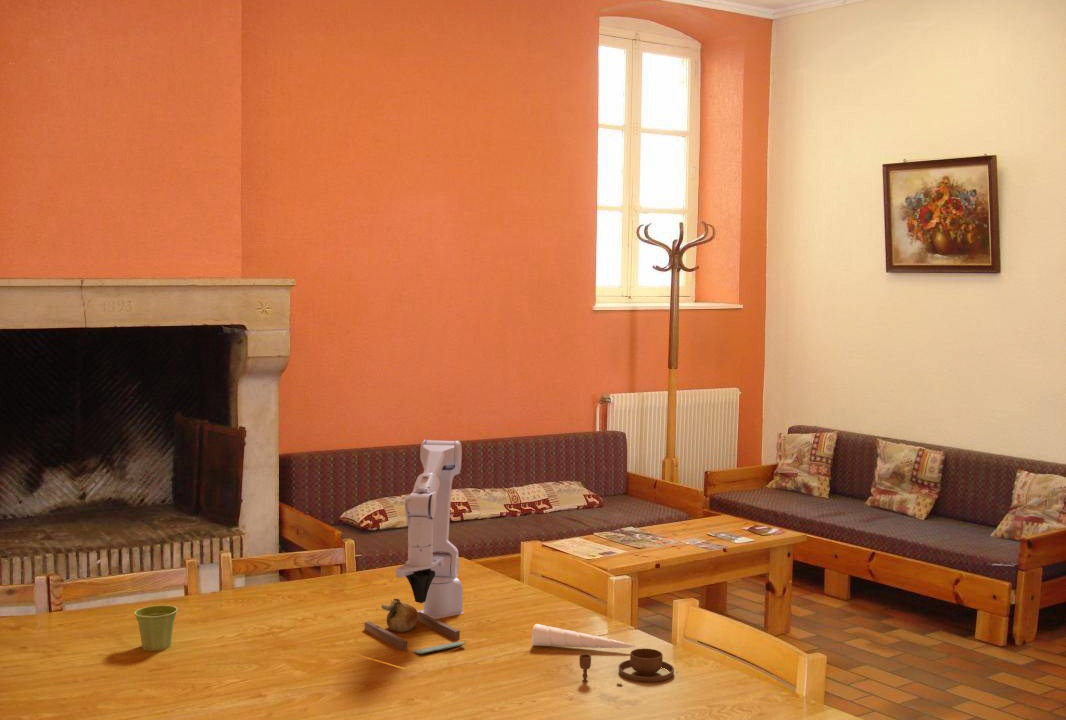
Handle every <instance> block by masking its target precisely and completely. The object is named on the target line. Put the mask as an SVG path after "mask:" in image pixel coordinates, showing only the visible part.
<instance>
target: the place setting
mask: <svg viewBox="0 0 1066 720" xmlns="http://www.w3.org/2000/svg"><path fill="white" fill-rule="evenodd" d="M629 655H630V656H629V657H630V658H629V659H627V660H623V661H622V662H620V663H619V664H618V672H619V674H620V675H621V676H622V677H624V678H625V679H627V680H629V681H633V682H640V683H660V681H661V682H664V680H665V681H667V680H669V679H671V678H672V676H673V675H674V673H675V668H674V666H673V665H672V664H671V663H668V662H666V661H664V660H663V653H662V651H659V650H657V649H655V648H654V649H653V648H636V649H633V650H632V651H630V654H629ZM591 665H592V655H590V654H588V653H584V654H583V653H582V654H579V667H580V668H581V669H582V672H583V673H582V678H583V679H582V680H581V682H582V683H588V682H589V680H588V677H589V676H588V670H589V669H590V668H591ZM661 667H662V668H665V669H667V670H668V671H669V672H670V673H667V674H663V675H657V676H654V675H655V674H656V673H657V672H659V671H660V670H661V669H662V668H661ZM628 668H632V670H634V671H635V672H636V674H637V675H635V674H631V673H629V672H625V671H624V670H625V669H628ZM616 686H617V687H620V688H623V687H624V684H621V683H618V682H617V683H616Z"/></svg>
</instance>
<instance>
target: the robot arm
mask: <svg viewBox="0 0 1066 720" xmlns="http://www.w3.org/2000/svg"><path fill="white" fill-rule="evenodd" d="M419 449H420V451H419V455H420V456H419V457H420V458H419V459H420V462H421V465H422V467H423V473H420V474H419V475H418V476H417V478H416V480H415V483H414V486H413V489H412V492H411V493H410V494H408V495H406V498H405V505H404V512H405V518H406V520H405V521H406V526H408V527H407V537H408V538H407V547H408V548H407V560H406V561H405V563H404V564H403V565H401V566H399V567H397V568H395V577H396V578H400V579H404V578H405V577H406V579H407V580H408V582H409V585H410V587H411V590H412V593H413V597H414V602H415V603H418V604H419V603H420V604H423V609H422V610H421V609H420V610H417V612H421V613H423V614H426V615H428V616H430V617H432V618H434V619H436V620H438V619H442V618H448V617H451V616H452V617H453V616H456V615H457V616H458V615H462V614H463V615H464V614H465V612H464V611H463V608H464V606H463V602H464V601H463V600H464V599H463V595H464V594H463V593H464V591H463V584H462V582H461V579H459V578H458V575H459V570H460V557H459V555H460V554H459V550H458V548H457V546H455V545H454V544H453V543H452V542H450V541H449V537H450V536H449V535H450V534H449V533H450V520H451V519H450V518H451V506H452V505H451V503H452V502H451V501H452V487H453V480H454V477H455V476H456V475H457V476H458V475H459V474H460V473H461V469H462V457H463V455H462V454H463V448H462V443H461V442H460V440H434V439H432V440H431V439H424V440H423V441H421V444H420V448H419Z"/></svg>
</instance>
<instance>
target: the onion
mask: <svg viewBox="0 0 1066 720" xmlns="http://www.w3.org/2000/svg"><path fill="white" fill-rule="evenodd" d="M390 602H391V603H390V605H386V604H381V609H382V610H384V611H387V612H388V613H387V615H386V625H387V627H388V629H390V630H391V631H392V632H396V633H405V632H409V631H411V630H412V629H414V628H415V627H416V626H415V625H416V624H417V623H418V621H417V620H418V612H417V611H418V610H417V608H415V607H414V606H413V605H410V604H407V603H403V602H402V601H401V599H399V598H394V599H393V600H391V601H390Z"/></svg>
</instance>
